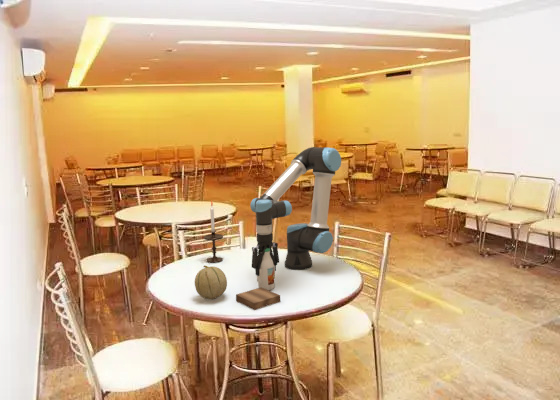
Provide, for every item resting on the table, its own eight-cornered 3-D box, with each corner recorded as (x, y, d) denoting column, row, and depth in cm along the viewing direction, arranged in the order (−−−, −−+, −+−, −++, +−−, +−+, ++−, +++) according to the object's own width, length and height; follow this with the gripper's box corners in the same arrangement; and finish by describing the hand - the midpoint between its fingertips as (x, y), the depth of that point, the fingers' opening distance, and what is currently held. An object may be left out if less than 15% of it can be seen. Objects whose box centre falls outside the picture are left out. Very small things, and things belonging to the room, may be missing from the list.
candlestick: (208, 257, 289) (204, 199, 283) (226, 258, 287) (223, 198, 281) (202, 263, 278) (199, 202, 272) (221, 263, 277) (218, 202, 271)
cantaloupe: (222, 304, 216) (220, 271, 213) (190, 303, 219) (188, 270, 216) (231, 292, 230) (230, 261, 228) (201, 291, 233) (199, 261, 230)
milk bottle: (262, 292, 230) (261, 250, 227) (255, 287, 237) (254, 246, 233) (277, 289, 233) (276, 248, 230) (270, 284, 240) (268, 244, 237)
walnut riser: (261, 293, 228) (261, 287, 228) (280, 301, 217) (280, 295, 217) (236, 301, 220) (235, 294, 219) (254, 310, 209) (254, 303, 208)
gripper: (251, 238, 221) (253, 286, 225) (286, 230, 234) (287, 277, 238) (242, 235, 227) (244, 282, 231) (276, 228, 240) (277, 273, 243)
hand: (266, 279), depth 234 cm, fingers closed on milk bottle, 7 cm apart
